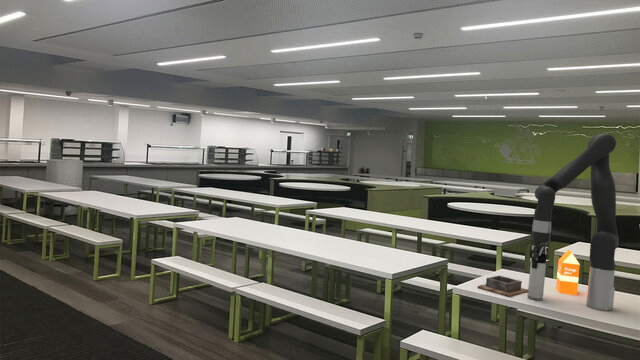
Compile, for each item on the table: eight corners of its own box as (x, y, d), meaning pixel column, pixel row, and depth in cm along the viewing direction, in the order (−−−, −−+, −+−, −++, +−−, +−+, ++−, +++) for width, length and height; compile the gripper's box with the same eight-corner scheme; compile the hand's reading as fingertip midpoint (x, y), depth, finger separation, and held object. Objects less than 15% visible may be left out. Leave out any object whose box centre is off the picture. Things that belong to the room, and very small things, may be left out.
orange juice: (559, 292, 223) (562, 251, 222) (555, 288, 232) (559, 248, 231) (577, 295, 221) (581, 253, 220) (573, 290, 229) (577, 250, 228)
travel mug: (546, 300, 209) (550, 256, 208) (535, 301, 207) (539, 256, 206) (535, 296, 215) (539, 253, 214) (524, 296, 212) (528, 253, 211)
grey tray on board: (528, 291, 221) (529, 281, 221) (509, 297, 210) (510, 286, 209) (497, 283, 233) (498, 273, 233) (477, 288, 222) (478, 277, 222)
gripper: (542, 232, 202) (538, 271, 202) (557, 231, 211) (553, 267, 212) (525, 230, 207) (521, 267, 208) (540, 228, 216) (537, 264, 217)
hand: (538, 267), depth 210 cm, fingers closed on travel mug, 6 cm apart
